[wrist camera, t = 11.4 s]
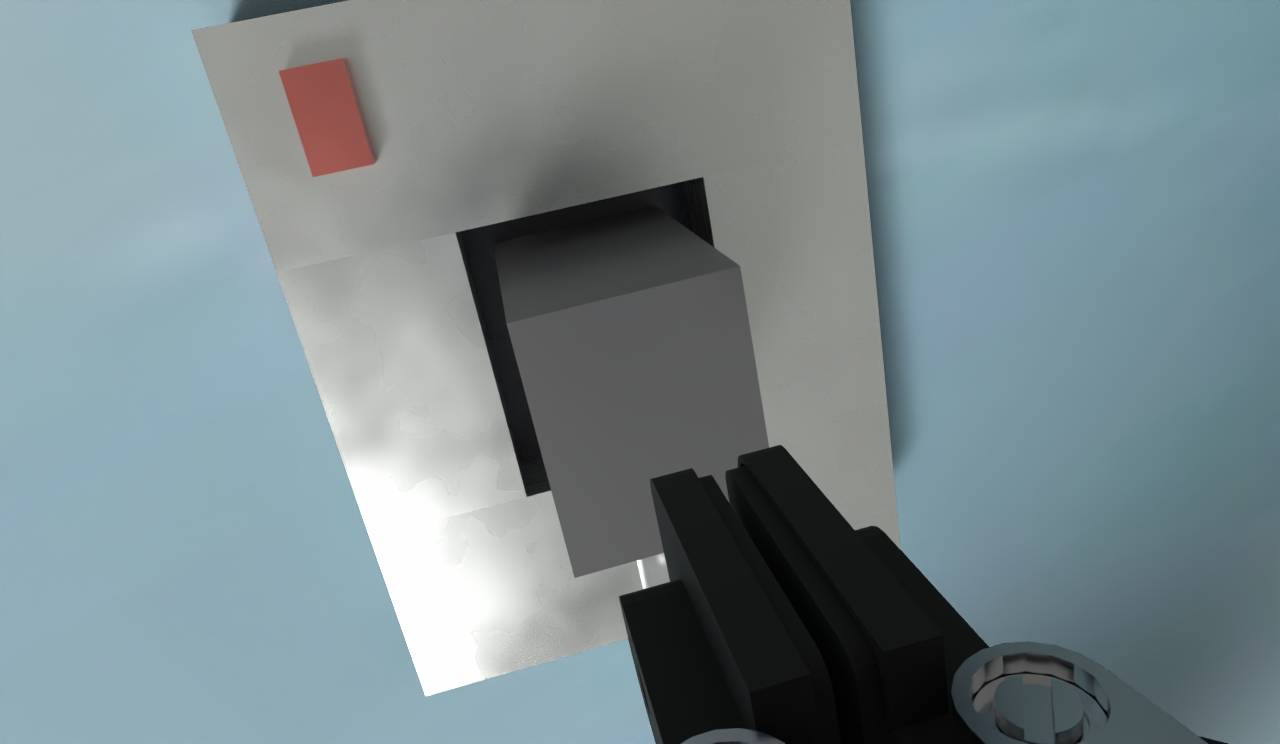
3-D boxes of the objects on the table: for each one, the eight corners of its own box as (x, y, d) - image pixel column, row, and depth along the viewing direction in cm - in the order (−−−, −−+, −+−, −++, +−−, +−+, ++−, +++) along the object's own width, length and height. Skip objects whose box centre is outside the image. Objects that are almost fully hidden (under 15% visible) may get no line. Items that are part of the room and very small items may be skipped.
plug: (703, 458, 23) (794, 606, 17) (559, 496, 23) (597, 664, 17) (654, 205, 21) (740, 265, 14) (492, 243, 20) (506, 324, 14)
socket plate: (861, 516, 26) (912, 572, 23) (429, 636, 24) (424, 712, 21) (797, -75, 20) (853, -99, 17) (225, 35, 18) (181, 28, 16)
